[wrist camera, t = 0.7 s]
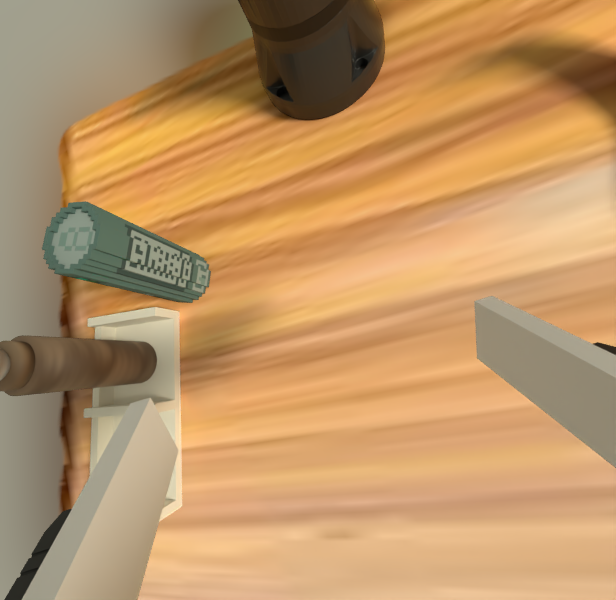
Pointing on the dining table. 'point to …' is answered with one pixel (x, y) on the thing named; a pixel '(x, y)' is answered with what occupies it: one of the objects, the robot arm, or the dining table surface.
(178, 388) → the caddy
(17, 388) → the pepper mill
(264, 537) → the dining table surface
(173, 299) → the can
